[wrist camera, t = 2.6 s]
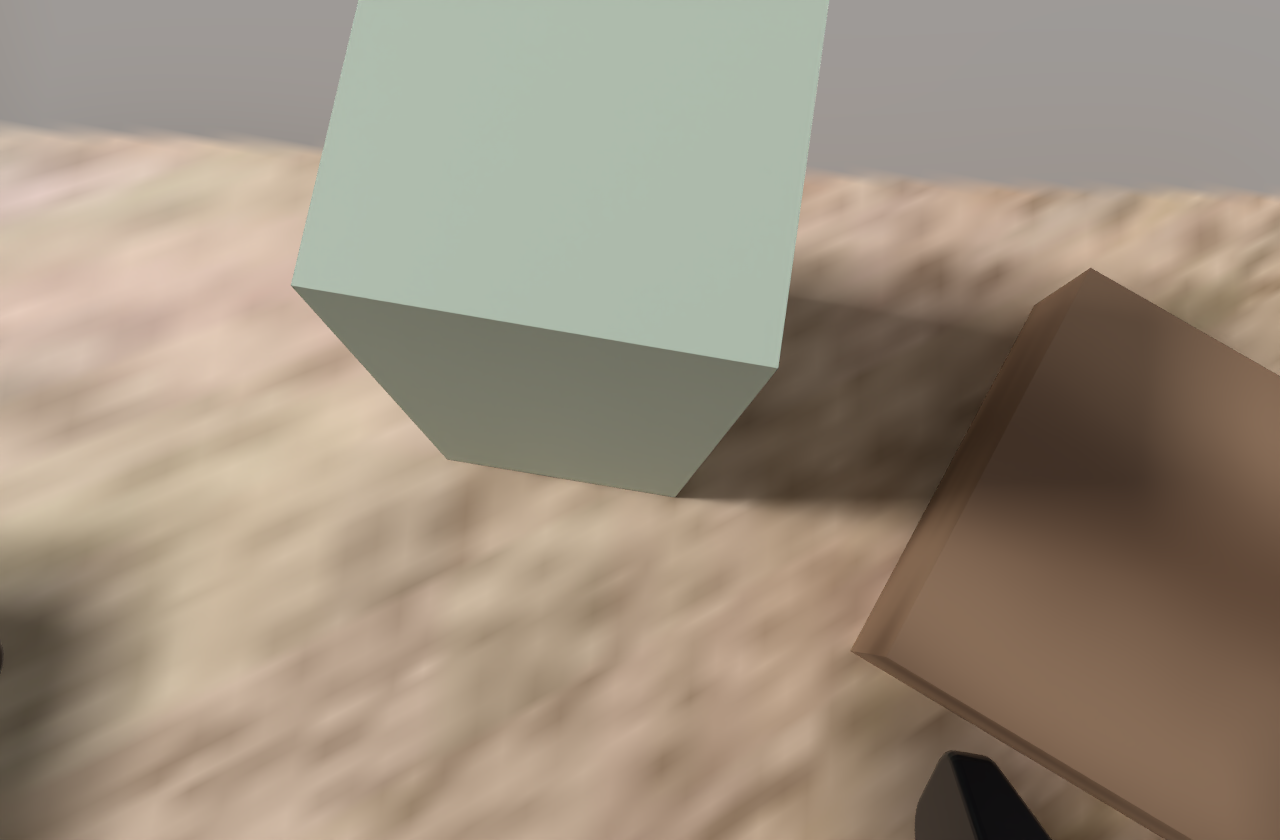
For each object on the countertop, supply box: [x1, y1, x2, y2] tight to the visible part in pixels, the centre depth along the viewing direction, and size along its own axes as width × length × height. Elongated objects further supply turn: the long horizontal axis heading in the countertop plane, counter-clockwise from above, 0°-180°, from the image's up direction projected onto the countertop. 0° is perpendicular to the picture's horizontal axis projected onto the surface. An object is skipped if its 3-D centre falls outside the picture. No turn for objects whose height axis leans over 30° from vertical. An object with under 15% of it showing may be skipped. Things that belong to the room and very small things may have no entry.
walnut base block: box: [851, 268, 1280, 840], centre depth 21 cm, size 9×9×3 cm
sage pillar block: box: [291, 0, 829, 497], centre depth 17 cm, size 5×5×12 cm
